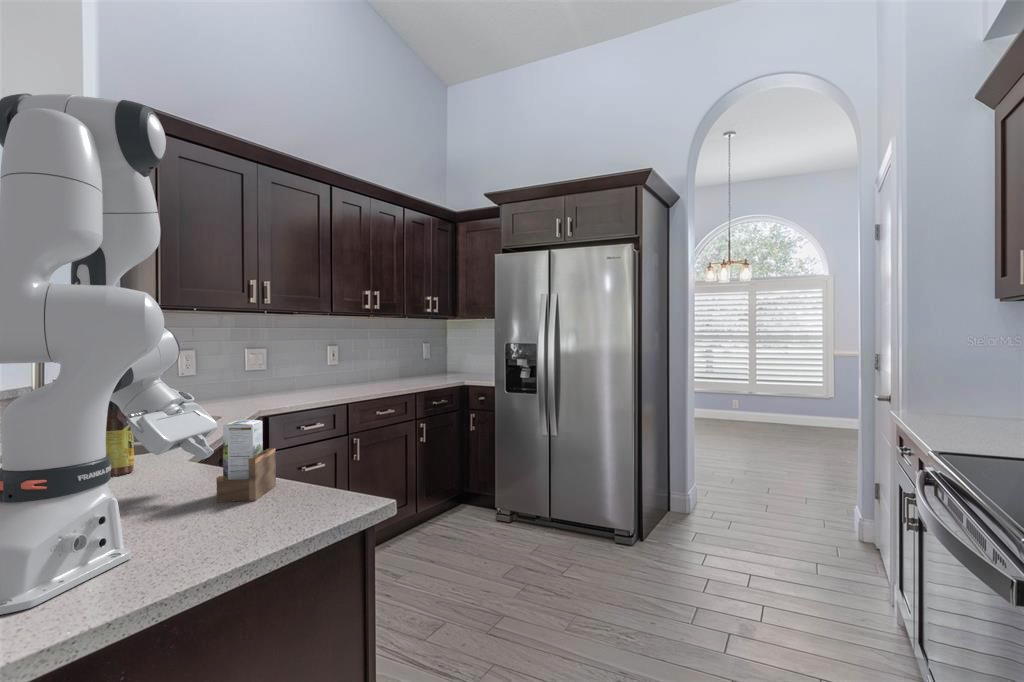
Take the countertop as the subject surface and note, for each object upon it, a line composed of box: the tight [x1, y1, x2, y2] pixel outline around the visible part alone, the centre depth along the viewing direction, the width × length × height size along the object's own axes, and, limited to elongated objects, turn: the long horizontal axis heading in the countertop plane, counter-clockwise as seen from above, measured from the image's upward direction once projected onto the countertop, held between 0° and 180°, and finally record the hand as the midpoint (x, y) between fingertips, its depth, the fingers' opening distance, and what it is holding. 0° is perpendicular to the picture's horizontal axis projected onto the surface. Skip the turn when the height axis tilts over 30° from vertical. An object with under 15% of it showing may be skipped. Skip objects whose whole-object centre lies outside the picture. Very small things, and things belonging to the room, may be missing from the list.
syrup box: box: [222, 419, 264, 480], centre depth 107 cm, size 6×6×14 cm
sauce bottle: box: [106, 401, 135, 477], centre depth 126 cm, size 7×6×20 cm
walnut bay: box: [216, 447, 277, 503], centre depth 107 cm, size 11×7×8 cm
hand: (208, 456), depth 106 cm, fingers closed
